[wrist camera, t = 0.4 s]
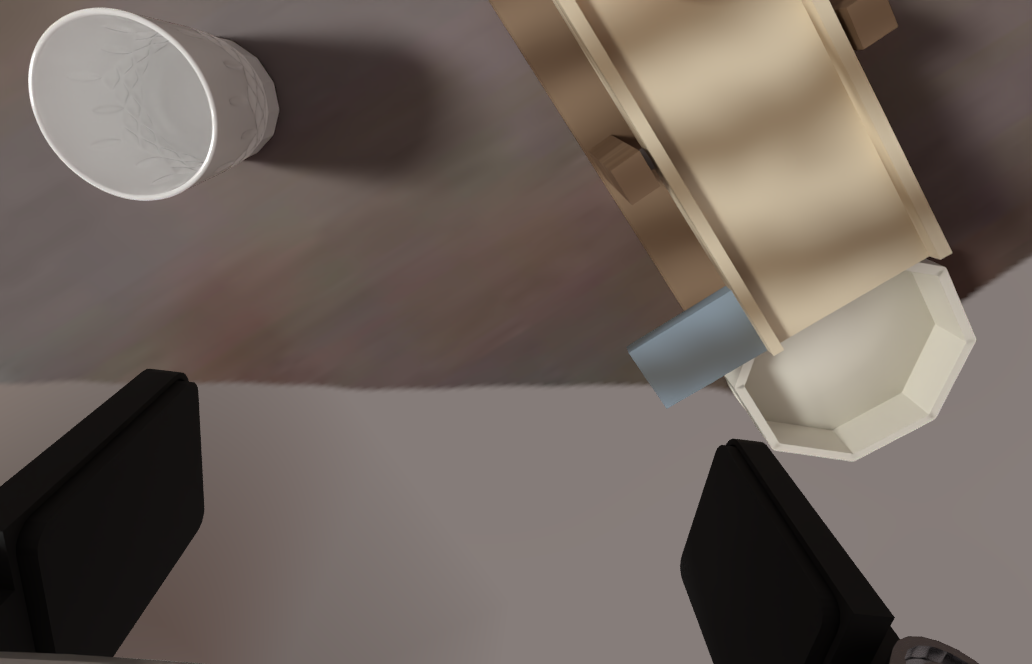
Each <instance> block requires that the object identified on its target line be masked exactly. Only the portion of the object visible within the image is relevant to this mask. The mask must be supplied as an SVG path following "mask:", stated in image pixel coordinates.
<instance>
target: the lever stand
mask: <svg viewBox="0 0 1032 664" xmlns="http://www.w3.org/2000/svg"><path fill="white" fill-rule="evenodd" d="M829 1H830V3H831V5H832V8H833V10H834V12H835V14H836V16H837V18H838V20H839V22H840V24H841V26H842V28H843V30H844V32H845V34H846V36H847V38H848V40H849V42H850V44H851V46H852V48H853V50H864V49H866V48H867V47H869V46H870V45H872V44H873V43H875V42H876V41H878V40H879V39H881V38H882V37H883V36H885V35H886V34H888V33H889V32H891V31H892V30H894V29H895V28H897V27H898V24H897V22H896V19H895V17H894V14H893V12H892V9H891V6H890V4H889V1H888V0H829ZM489 2H490V4H491V5H492V7H493V8H494V10H495V11H496V13H497V15H498V16H499V18H500V19H501V21H502V23H503V24H504V26H505V27H506V29H507V31H508V32H509V34H510V35H511V37H512V38H513V40H514V42H515V43H516V45H517V46H518V48H519V50H520V51H521V53H522V54H523V56H524V57H525V59H526V61H527V62H528V64H529V65H530V67H531V69H532V70H533V72H534V73H535V75H536V77H537V78H538V80H539V81H540V83H541V84H542V86H543V88H544V89H545V91H546V92H547V94H548V96H549V97H550V99H551V100H552V102H553V104H554V105H555V107H556V108H557V110H558V111H559V113H560V115H561V116H562V118H563V119H564V121H565V123H566V124H567V126H568V127H569V129H570V131H571V132H572V134H573V135H574V137H575V138H576V140H577V142H578V143H579V145H580V146H581V148H582V150H583V151H584V153H585V154H586V156H587V157H588V159H589V161H590V162H591V164H592V165H593V167H594V169H595V170H596V172H597V173H598V175H599V177H600V178H601V180H602V181H603V183H604V184H605V186H606V188H607V189H608V191H609V192H610V194H611V196H612V197H613V199H614V200H615V202H616V204H617V205H618V207H619V208H620V210H621V211H622V213H623V215H624V216H625V218H626V219H627V221H628V223H629V224H630V226H631V227H632V229H633V231H634V232H635V234H636V235H637V237H638V238H639V240H640V242H641V243H642V245H643V246H644V248H645V250H646V251H647V253H648V254H649V256H650V257H651V259H652V261H653V262H654V264H655V265H656V267H657V269H658V270H659V272H660V273H661V275H662V277H663V278H664V280H665V281H666V283H667V284H668V286H669V288H670V289H671V291H672V292H673V294H674V296H675V297H676V299H677V300H678V302H679V304H680V305H681V307H682V308H683V310H684V311H685V310H687V309H689V308H690V307H692V306H694V305H695V304H697V303H698V302H700V301H702V300H703V299H705V298H707V297H708V296H710V295H711V294H713V293H715V292H716V291H718V290H720V289H721V288H723V287H724V286H726V285H725V284H724V282H723V281H722V279H721V277H720V276H719V274H718V272H717V271H716V269H715V267H714V266H713V264H712V262H711V261H710V259H709V258H708V256H707V254H706V253H705V251H704V249H703V248H702V246H701V244H700V243H699V241H698V239H697V238H696V236H695V235H694V233H693V231H692V230H691V228H690V226H689V225H688V223H687V221H686V220H685V218H684V216H683V215H682V213H681V212H680V210H679V208H678V207H677V205H676V203H675V202H674V200H673V198H672V197H671V195H670V193H669V192H668V190H667V189H666V187H665V185H664V184H663V182H662V180H661V179H660V177H659V175H658V174H657V172H656V170H655V169H653V170H651V169H650V168H649V166H648V164H647V162H646V161H645V159H644V157H643V156H642V154H641V152H640V151H639V150H640V149H641V148H642V147H641V146H640V144H639V142H638V141H637V139H636V138H635V136H634V134H633V133H632V131H631V129H630V128H629V126H628V124H627V123H626V121H625V119H624V118H623V116H622V115H621V113H620V111H619V110H618V108H617V106H616V105H615V103H614V101H613V100H612V98H611V96H610V95H609V93H608V92H607V90H606V88H605V87H604V85H603V83H602V82H601V80H600V78H599V77H598V75H597V73H596V72H595V70H594V69H593V67H592V65H591V64H590V62H589V60H588V59H587V57H586V55H585V54H584V52H583V50H582V49H581V47H580V46H579V44H578V42H577V41H576V39H575V37H574V36H573V34H572V32H571V31H570V29H569V27H568V26H567V24H566V22H565V21H564V19H563V18H562V16H561V14H560V13H559V11H558V9H557V8H556V6H555V4H554V3H553V1H552V0H489Z"/></svg>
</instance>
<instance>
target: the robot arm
mask: <svg viewBox="0 0 1032 664" xmlns="http://www.w3.org/2000/svg"><path fill="white" fill-rule="evenodd" d="M200 436H201V435H200V416H199V398H198V387H197V385H196V384H195V383H194V382H189V381H188V378H187V376H186V375H185V374H184V373H181V372H172V371H164V370H156V369H146V370H144V371H143V372H141V373H140V374H139V375H138V376H137V377H135V378H134V379H133V380H132V381H130V382H129V383H128V384H127V385H125V386H124V387H123V388H122V389H120V390H119V391H118V392H117V393H116V394H114V395H113V396H112V397H111V398H109V399H108V400H107V401H106V402H104V403H103V404H102V405H101V406H99V407H98V408H97V409H96V410H94V411H93V412H92V413H91V414H90V415H88V416H87V417H86V418H85V419H83V420H82V421H81V422H80V423H78V424H77V425H76V426H75V427H73V428H72V429H71V430H70V431H68V432H67V433H66V434H65V435H64V436H62V437H61V438H60V439H59V440H57V441H56V442H55V443H54V444H52V445H51V446H50V447H49V448H47V449H46V450H45V451H44V452H42V453H41V454H40V455H39V456H38V457H36V458H35V459H34V460H33V461H32V462H30V463H29V464H28V465H27V466H25V467H24V468H23V469H21V470H20V471H19V472H18V473H17V474H16V475H14V476H13V477H12V478H10V479H9V480H8V481H7V482H5V483H4V484H3V485H2V486H0V664H202V663H188V662H175V661H162V660H147V659H133V658H117V657H113V656H114V655H115V653H116V652H117V650H118V649H119V647H120V646H121V644H122V643H123V641H124V640H125V638H126V637H127V635H128V634H129V632H130V631H131V629H132V628H133V626H134V625H135V623H136V622H137V620H138V619H139V617H140V616H141V614H142V613H143V612H144V610H145V609H146V607H147V606H148V604H149V603H150V601H151V600H152V598H153V597H154V595H155V594H156V592H157V591H158V589H159V588H160V586H161V585H162V583H163V582H164V580H165V579H166V577H167V576H168V574H169V573H170V571H171V570H172V568H173V567H174V565H175V564H176V562H177V561H178V559H179V558H180V557H181V555H182V554H183V552H184V551H185V549H186V548H187V546H188V545H189V543H190V542H191V540H192V539H193V537H194V535H195V534H196V533H197V531H198V529H199V528H200V525H201V523H202V519H203V515H204V494H203V474H202V456H201V437H200ZM680 569H681V570H680V571H681V576H682V580H683V583H684V585H685V588H686V590H687V594H688V596H689V599H690V602H691V604H692V607H693V610H694V612H695V615H696V618H697V620H698V623H699V626H700V629H701V631H702V634H703V637H704V639H705V642H706V645H707V647H708V650H709V653H710V655H711V658H712V661H713V663H714V664H979V663H977V662H976V661H975V660H973V659H971V658H970V657H968V656H967V655H965V654H963V653H962V652H960V651H959V650H957V649H955V648H953V647H950V646H948V645H946V644H944V643H941V642H939V641H936V640H932V639H928V638H925V637H912V636H908V637H905V638H903V639H899V637H898V636H897V634H896V633H895V632H894V630H893V629H892V628H891V626H890V625H891V623H892V622H893V620H894V618H895V617H894V616H893V615H892V614H891V612H890V611H889V609H888V608H887V607H886V605H885V604H884V603H883V601H882V600H881V599H880V597H879V596H878V595H877V593H876V592H875V591H874V589H873V588H872V586H871V585H870V584H869V582H868V581H867V580H866V578H865V577H864V576H863V574H862V573H861V572H860V570H859V569H858V568H857V566H856V565H855V564H854V562H853V561H852V560H851V558H850V557H849V555H848V554H847V553H846V551H845V550H844V549H843V547H842V546H841V545H840V543H839V542H838V541H837V539H836V538H835V537H834V535H833V534H832V533H831V531H830V530H829V529H828V527H827V526H826V525H825V523H824V522H823V521H822V519H821V518H820V516H819V515H818V514H817V512H816V511H815V510H814V508H813V507H812V506H811V504H810V503H809V502H808V500H807V499H806V498H805V496H804V495H803V494H802V492H801V491H800V490H799V488H798V487H797V486H796V484H795V483H794V482H793V480H792V479H791V478H790V476H789V475H788V473H787V472H786V471H785V469H784V468H783V467H782V465H781V464H780V463H779V461H778V460H777V459H776V457H775V456H774V455H773V454H772V452H771V451H770V449H769V448H768V447H767V445H765V444H764V443H763V442H757V441H748V440H740V439H731V440H729V441H728V443H727V444H726V446H725V445H721V446H719V447H718V448H717V450H716V453H715V456H714V459H713V462H712V465H711V468H710V471H709V474H708V478H707V480H706V483H705V487H704V489H703V493H702V496H701V499H700V502H699V505H698V508H697V511H696V514H695V517H694V520H693V523H692V527H691V530H690V533H689V535H688V538H687V542H686V545H685V548H684V551H683V554H682V557H681V564H680Z"/></svg>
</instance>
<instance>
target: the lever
mask: <svg viewBox="0 0 1032 664" xmlns="http://www.w3.org/2000/svg"><path fill="white" fill-rule="evenodd" d="M552 1H553V3H554V4H555V6H556V8H557V9H558V11H559V13H560V14H561V16H562V18H563V19H564V21H565V22H566V24H567V26H568V27H569V29H570V31H571V32H572V34H573V36H574V37H575V39H576V41H577V42H578V44H579V46H580V47H581V49H582V50H583V52H584V54H585V55H586V57H587V59H588V60H589V62H590V64H591V65H592V67H593V69H594V70H595V72H596V73H597V75H598V77H599V78H600V80H601V82H602V83H603V85H604V87H605V88H606V90H607V92H608V93H609V95H610V96H611V98H612V100H613V101H614V103H615V105H616V106H617V108H618V110H619V111H620V113H621V115H622V116H623V118H624V119H625V121H626V123H627V124H628V126H629V128H630V129H631V131H632V133H633V134H634V136H635V138H636V139H637V141H638V142H639V144H640V146H641V147H642V148H641V149H640V150H639V151H640V152H641V154H642V156H643V157H644V159H645V161H646V162H647V164H648V166H649V168H650V169H651V170H653V169H655V170H656V172H657V174H658V175H659V177H660V179H661V180H662V182H663V184H664V185H665V187H666V189H667V190H668V192H669V193H670V195H671V197H672V198H673V200H674V202H675V203H676V205H677V207H678V208H679V210H680V212H681V213H682V215H683V216H684V218H685V220H686V221H687V223H688V225H689V226H690V228H691V230H692V231H693V233H694V235H695V236H696V238H697V239H698V241H699V243H700V244H701V246H702V248H703V249H704V251H705V253H706V254H707V256H708V258H709V259H710V261H711V262H712V264H713V266H714V267H715V269H716V271H717V272H718V274H719V276H720V277H721V279H722V281H723V282H724V284H725V285H726V286H724V287H723V288H721V289H720V290H718V291H716V292H715V293H713V294H711V295H710V296H708V297H707V298H705V299H703V300H702V301H700V302H698V303H697V304H695V305H694V306H692V307H690V308H689V309H687V310H685V311H684V312H682V313H681V314H679V315H677V316H676V317H674V318H672V319H671V320H669V321H668V322H666V323H664V324H663V325H661V326H659V327H658V328H656V329H655V330H653V331H651V332H650V333H648V334H646V335H645V336H643V337H642V338H640V339H638V340H637V341H635V342H633V343H632V344H630V345H629V346H627V350H628V352H629V354H630V355H631V357H632V358H633V360H634V361H635V363H636V364H637V366H638V367H639V369H640V370H641V372H642V373H643V375H644V376H645V378H646V379H647V381H648V382H649V383H650V385H651V386H652V388H653V389H654V391H655V392H656V394H657V395H658V397H659V398H660V400H661V401H662V403H663V404H664V405H665V407H666V408H669V407H671V406H672V405H674V404H676V403H678V402H679V401H681V400H683V399H684V398H686V397H688V396H689V395H691V394H693V393H695V392H697V391H698V390H700V389H702V388H703V387H705V386H707V385H709V384H710V383H712V382H714V381H715V380H717V379H719V378H721V377H722V376H724V375H726V374H728V373H729V372H731V371H733V370H734V369H736V368H738V367H740V366H741V365H743V364H745V363H746V362H748V361H750V360H752V359H753V358H755V357H757V356H758V355H760V354H762V353H764V352H765V351H767V350H768V351H769V352H770V353H771V354H772V355H773V356H775V355H777V354H778V353H780V352H782V351H784V349H783V347H782V345H781V344H780V343H781V342H783V341H784V340H786V339H788V338H789V337H791V336H793V335H795V334H796V333H798V332H800V331H802V330H803V329H805V328H807V327H808V326H810V325H812V324H814V323H815V322H817V321H819V320H820V319H822V318H824V317H826V316H827V315H829V314H831V313H833V312H834V311H836V310H838V309H839V308H841V307H843V306H845V305H846V304H848V303H850V302H851V301H853V300H855V299H857V298H858V297H860V296H862V295H864V294H865V293H867V292H869V291H870V290H872V289H874V288H876V287H877V286H879V285H881V284H882V283H884V282H886V281H888V280H889V279H891V278H893V277H895V276H896V275H898V274H900V273H901V272H903V271H905V270H907V269H908V268H910V267H912V266H913V265H915V264H917V263H919V262H920V261H922V260H924V259H926V258H927V257H929V256H930V257H933V258H937V259H940V260H941V259H943V258H945V257H946V256H948V255H950V254H952V251H951V249H950V247H949V245H948V243H947V241H946V239H945V236H944V234H943V232H942V230H941V228H940V226H939V224H938V222H937V220H936V218H935V216H934V214H933V212H932V210H931V208H930V206H929V204H928V202H927V200H926V198H925V196H924V194H923V192H922V189H921V187H920V185H919V183H918V181H917V179H916V177H915V175H914V173H913V171H912V169H911V167H910V165H909V163H908V161H907V159H906V157H905V155H904V153H903V151H902V149H901V147H900V144H899V142H898V140H897V138H896V136H895V134H894V132H893V130H892V128H891V126H890V124H889V122H888V120H887V118H886V116H885V114H884V112H883V110H882V108H881V106H880V104H879V102H878V100H877V97H876V95H875V93H874V91H873V89H872V87H871V85H870V83H869V81H868V79H867V77H866V75H865V73H864V71H863V69H862V67H861V65H860V63H859V61H858V59H857V57H856V55H855V53H854V50H853V48H852V46H851V44H850V42H849V40H848V38H847V36H846V34H845V32H844V30H843V28H842V26H841V24H840V22H839V20H838V18H837V16H836V14H835V12H834V10H833V8H832V5H831V3H830V1H829V0H552Z"/></svg>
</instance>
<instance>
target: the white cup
mask: <svg viewBox="0 0 1032 664" xmlns="http://www.w3.org/2000/svg"><path fill="white" fill-rule="evenodd" d="M28 85H29V95H30V101H31V105H32V109H33V112H34V115H35V118H36V120H37V123H38V125H39V127H40V129H41V131H42V133H43V135H44V137H45V138H46V140H47V142H48V143H49V145H50V146H51V148H52V149H53V150H54V152H55V153H56V154H57V155H58V156H59V158H60V159H61V160H62V161H63V162H64V163H65V164H66V165H67V166H68V167H69V168H70V169H71V170H72V171H73V172H75V173H76V174H77V175H78V176H80V177H81V178H82V179H84V180H85V181H87V182H88V183H90V184H92V185H93V186H95V187H97V188H99V189H101V190H103V191H105V192H107V193H110V194H112V195H115V196H119V197H122V198H127V199H132V200H141V201H152V200H160V199H165V198H169V197H172V196H175V195H177V194H179V193H181V192H183V191H185V190H187V189H189V188H192V187H194V186H196V185H198V184H200V183H202V182H204V181H206V180H208V179H210V178H212V177H215V176H217V175H219V174H221V173H223V172H225V171H226V170H228V169H230V168H232V167H233V166H235V165H237V164H239V163H240V162H242V161H243V160H244V159H246V158H247V157H249V156H252V155H254V154H256V153H258V152H259V151H260V150H261V148H262V147H263V146H264V145H265V144H266V143H267V142H268V141H269V140H270V138H271V137H272V136H273V135H274V131H275V127H276V123H277V119H278V114H279V105H278V101H277V96H276V91H275V86H274V82H273V81H272V79H271V78H270V76H269V75H268V73H267V72H266V70H265V69H264V67H263V66H262V64H261V63H260V61H259V60H258V58H257V57H255V56H254V55H252V54H251V53H249V52H248V51H246V50H245V49H244V48H242V47H241V46H239V45H238V44H236V43H235V42H233V41H231V40H227V39H222V38H218V37H215V36H213V35H211V34H208V33H206V32H203V31H200V30H197V29H193V28H190V27H187V26H183V25H179V24H175V23H171V22H167V21H163V20H159V19H155V18H151V17H147V16H143V15H139V14H135V13H131V12H127V11H123V10H119V9H113V8H88V9H83V10H79V11H75V12H72V13H70V14H68V15H66V16H64V17H62V18H60V19H59V20H57V21H56V22H55V23H53V24H52V25H51V26H50V27H49V28H48V29H47V30H46V31H45V32H44V34H43V35H42V36H41V38H40V39H39V41H38V43H37V45H36V47H35V49H34V51H33V54H32V58H31V61H30V67H29V76H28Z"/></svg>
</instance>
